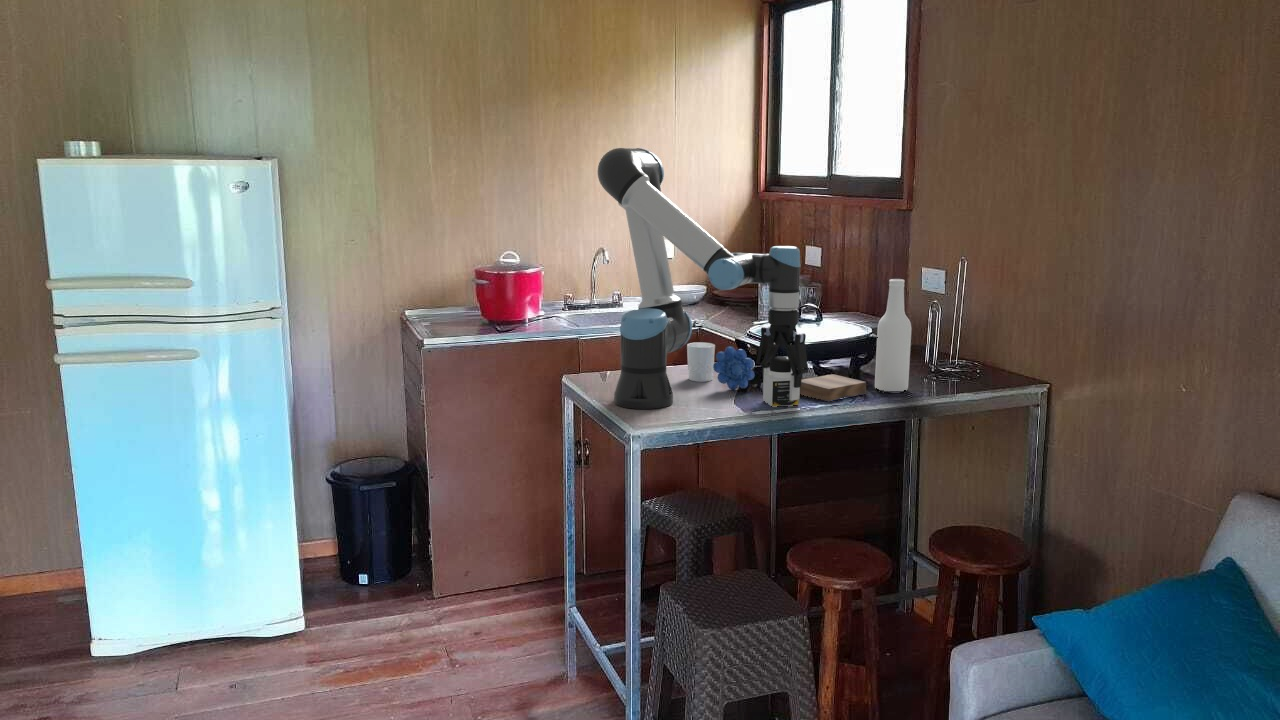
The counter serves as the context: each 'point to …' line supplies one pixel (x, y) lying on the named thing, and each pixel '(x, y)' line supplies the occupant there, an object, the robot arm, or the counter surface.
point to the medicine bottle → (778, 383)
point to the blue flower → (734, 368)
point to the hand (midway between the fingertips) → (780, 395)
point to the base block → (831, 387)
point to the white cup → (700, 361)
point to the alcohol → (893, 342)
